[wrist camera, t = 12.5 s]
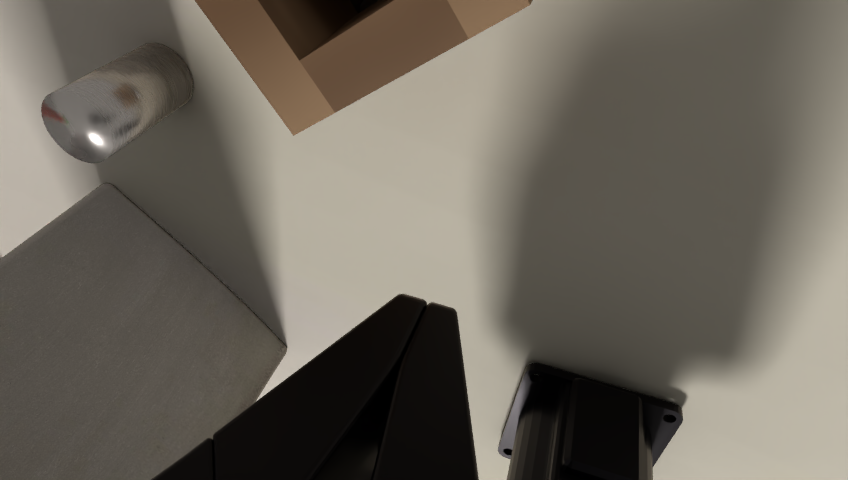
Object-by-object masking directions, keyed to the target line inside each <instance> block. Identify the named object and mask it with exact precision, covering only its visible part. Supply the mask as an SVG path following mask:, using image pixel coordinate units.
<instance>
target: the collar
mask: <svg viewBox="0 0 848 480" xmlns="http://www.w3.org/2000/svg"><path fill="white" fill-rule="evenodd" d="M195 1H196V3H197V4H198V5H199V7H200V8H201V10H202V11H203V12H204V14H205V15H206V16H207V18H208V19H209V20H210V22H211V23H212V25H213V26H214V27H215V29H216V30H217V31H218V33H219V34H220V36H221V37H222V38H223V40H224V41H225V42H226V44H227V45H228V46H229V48H230V49H231V51H232V52H233V53H234V55H235V56H236V57H237V59H238V60H239V62H240V63H241V64H242V66H243V67H244V68H245V70H246V71H247V73H248V74H249V75H250V77H251V78H252V79H253V81H254V82H255V83H256V85H257V86H258V88H259V89H260V90H261V92H262V93H263V94H264V96H265V97H266V99H267V100H268V101H269V103H270V104H271V105H272V107H273V108H274V109H275V111H276V112H277V114H278V115H279V116H280V118H281V119H282V120H283V122H284V123H285V125H286V126H287V127H288V129H289V130H290V131H291V133H292V134H293V136H294V135H295V134H297V133H299V132H301V131H303V130H304V129H306V128H308V127H310V126H312V125H314V124H315V123H317V122H319V121H321V120H323V119H324V118H326V117H328V116H330V115H332V114H333V113H335V112H337V111H339V110H341V109H342V108H344V107H346V106H348V105H350V104H352V103H353V102H355V101H357V100H359V99H361V98H362V97H364V96H366V95H368V94H370V93H371V92H373V91H375V90H377V89H379V88H381V87H382V86H384V85H386V84H388V83H390V82H391V81H393V80H395V79H397V78H399V77H400V76H402V75H404V74H406V73H408V72H410V71H411V70H413V69H415V68H417V67H419V66H420V65H422V64H424V63H426V62H428V61H429V60H431V59H433V58H435V57H437V56H438V55H440V54H442V53H444V52H446V51H448V50H449V49H451V48H453V47H455V46H457V45H458V44H460V43H462V42H464V41H466V40H467V39H469V38H471V37H473V36H475V35H477V34H478V33H480V32H482V31H484V30H486V29H487V28H489V27H491V26H493V25H495V24H496V23H498V22H500V21H502V20H504V19H505V18H507V17H509V16H511V15H513V14H515V13H516V12H518V11H520V10H522V9H524V8H525V7H527V6H529V5H530V4H531V2H532V0H378V1H377V2H375V3H373V4H372V5H370V6H369V7H367V8H366V9H364V10H363V11H361V12H360V13H358V12H357V11H356V9H355V8H354V6H353V4H352V3H351V1H350V0H195Z"/></svg>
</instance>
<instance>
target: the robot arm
mask: <svg viewBox="0 0 848 480" xmlns="http://www.w3.org/2000/svg"><path fill="white" fill-rule="evenodd" d="M535 374H538V375H535ZM668 414H669V415H668ZM682 421H683V413H682V409H681V408H680V407H679V406H678V405H676V404H674V403H671V402H667V401H664V400H661V399H657V398H654V397H651V396H647V395H644V394H641V393H637V392H634V391H631V390H627V389H624V388H621V387H617V386H614V385H610V384H607V383H604V382H600V381H597V380H594V379H590V378H587V377H584V376H580V375H577V374H574V373H570V372H567V371H564V370H560V369H557V368H554V367H550V366H547V365H543V364H540V363H530V364H528V365H527V366H526V368H525V370H524V373H523V376H522V379H521V382H520V385H519V388H518V390H517V393H516V396H515V399H514V402H513V405H512V408H511V411H510V413H509V416H508V419H507V422H506V425H505V428H504V431H503V433H502V436H501V439H500V442H499V447H498V452H499V454H501V455H502V456H503V457H506V458H508V459H511V460H510V466H509V471H508V476H507V480H653V466H654V464H655V463H656V461H657V460H658V458H659V457H660V455H661V454H662V452H663V451H664V449H665V448H666V446H667V445H668V443H669V442H670V440H671V439H672V437H673V435H674V434H675V432H676V431H677V429H678V428H679V426H680V425H681V423H682ZM151 480H479V479H478V471H477V463H476V456H475V448H474V440H473V433H472V425H471V417H470V410H469V402H468V394H467V386H466V379H465V371H464V363H463V356H462V348H461V340H460V333H459V325H458V317H457V312H456V310H455V309H453V308H451V307H447V306H444V305H440V304H437V303H433V302H431V303H429V304H428V305H427V303H426V301H425V300H423V299H420V298H416V297H413V296H409V295H406V294H399V295H397V296H396V297H394V298H393V299H392V300H390V301H389V302H388V303H387V304H385V305H384V306H383V307H381V308H380V309H379V310H377V311H376V312H375V313H373V314H372V315H371V316H369V317H368V318H367V319H365V320H364V321H363V322H361V323H360V324H359V325H357V326H356V327H355V328H353V329H352V330H351V331H349V332H348V333H347V334H345V335H344V336H343V337H341V338H340V339H339V340H337V341H336V342H335V343H333V344H332V345H331V346H329V347H328V348H327V349H325V350H324V351H323V352H321V353H320V354H319V355H317V356H316V357H315V358H313V359H312V360H311V361H309V362H308V363H307V364H305V365H304V366H303V367H302V368H300V369H299V370H298V371H296V372H295V373H294V374H292V375H291V376H290V377H288V378H287V379H286V380H284V381H283V382H282V383H280V384H279V385H278V386H276V387H275V388H274V389H272V390H271V391H270V392H268V393H267V394H266V395H264V396H263V397H262V398H260V399H259V400H258V401H256V402H255V403H254V404H252V405H251V406H250V407H248V408H247V409H246V410H244V411H243V412H242V413H240V414H239V415H238V416H236V417H235V418H234V419H232V420H231V421H230V422H228V423H227V424H226V425H224V426H223V427H222V428H220V429H219V430H218V431H217V432H215V433H214V434H213V440H212V438H207V439H205V440H204V441H203V442H201V443H200V444H199V445H197V446H196V447H195V448H194V449H192V450H191V451H190V452H188V453H187V454H186V455H184V456H183V457H182V458H180V459H179V460H177V461H176V462H175V463H173V464H172V465H170V466H169V467H168V468H166V469H165V470H163V471H162V472H161V473H159V474H158V475H156V476H155V477H154V478H152V479H151Z"/></svg>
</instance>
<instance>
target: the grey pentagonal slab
mask: <svg viewBox="0 0 848 480" xmlns="http://www.w3.org/2000/svg"><path fill="white" fill-rule="evenodd" d="M286 352H287V349H286V346H285V345H284V344H283V343H282V342H281V341H280V340H279V338H278V337H277V336H276V335H275V334H274V333H273V332H272V331H271V330H270V329H269V328H268V327H267V326H266V325H265V324H264V323H263V322H262V321H261V320H260V319H259V318H258V317H257V316H256V315H255V314H254V313H253V312H252V311H251V310H250V309H249V308H248V307H247V306H246V305H245V304H244V303H243V302H242V301H241V300H240V299H239V298H238V297H237V296H235V295H234V294H233V293H232V292H231V291H230V290H229V289H228V288H227V287H226V286H225V285H224V284H223V283H222V282H221V281H219V280H218V279H217V278H216V277H215V276H214V275H213V274H212V273H211V272H210V271H209V270H208V269H207V268H206V267H205V266H203V265H202V264H201V263H200V262H199V261H198V260H197V259H196V258H195V257H194V256H192V255H191V254H190V253H189V252H188V251H187V250H186V249H185V248H183V247H182V246H181V245H180V244H179V243H178V242H177V241H176V240H174V239H173V238H172V237H171V236H170V235H169V234H168V233H167V232H165V231H164V230H163V229H162V228H161V227H160V226H159V225H158V224H156V223H155V222H154V221H153V220H152V219H151V218H150V217H149V216H147V215H146V214H145V213H144V212H143V211H142V210H141V209H140V208H138V207H137V206H136V205H135V204H134V203H133V202H132V201H130V200H129V199H128V198H127V197H126V196H125V195H124V194H122V193H121V192H120V191H119V190H118V189H117V188H116V187H114V186H113V185H111V184H108V183H105V184H102V185H100V186H99V187H97V188H96V189H95V190H93V191H92V192H91V193H89V194H88V195H87V196H85V197H84V198H83V199H81V200H80V201H78V202H77V203H76V204H74V205H73V206H72V207H70V208H69V209H68V210H66V211H65V212H64V213H62V214H61V215H60V216H58V217H57V218H55V219H54V220H53V221H51V222H50V223H49V224H47V225H46V226H45V227H43V228H42V229H41V230H39V231H38V232H36V233H35V234H34V235H32V236H31V237H30V238H28V239H27V240H26V241H24V242H23V243H22V244H20V245H19V246H18V247H16V248H15V249H13V250H12V251H11V252H9V253H8V254H7V255H5V256H4V257H3V258H1V259H0V480H151V479H152V478H154V477H155V476H156V475H158V474H159V473H161V472H162V471H163V470H165V469H166V468H168V467H169V466H170V465H172V464H173V463H175V462H176V461H177V460H179V459H180V458H182V457H183V456H184V455H186V454H187V453H188V452H190V451H191V450H192V449H194V448H195V447H196V446H197V445H199V444H200V443H201V442H203V441H204V440H205V439H207V438H212V440H213V434H214V433H215V432H217V431H218V430H219V429H220V428H222V427H223V426H224V425H226V424H227V423H228V422H230V421H231V420H232V419H234V418H235V417H236V416H238V415H239V414H240V413H242V412H243V411H244V410H246V409H247V408H248V407H250V406H251V405H252V404H254V403H255V402H256V400H257V399H258V397H259V395H260V394H261V392H262V390H263V389H264V387H265V386H266V384H267V382H268V381H269V379H270V378H271V376H272V374H273V373H274V371H275V370H276V368H277V367H278V365H279V364H280V362H281V360H282V359H283V357H284V356H285V354H286Z"/></svg>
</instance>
